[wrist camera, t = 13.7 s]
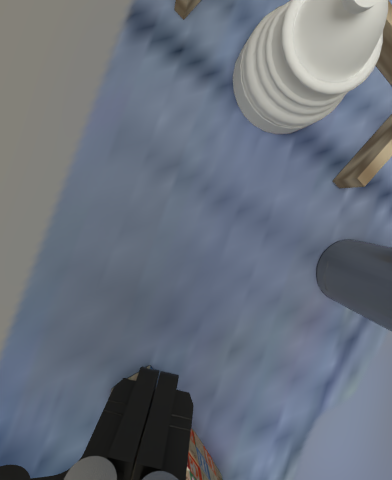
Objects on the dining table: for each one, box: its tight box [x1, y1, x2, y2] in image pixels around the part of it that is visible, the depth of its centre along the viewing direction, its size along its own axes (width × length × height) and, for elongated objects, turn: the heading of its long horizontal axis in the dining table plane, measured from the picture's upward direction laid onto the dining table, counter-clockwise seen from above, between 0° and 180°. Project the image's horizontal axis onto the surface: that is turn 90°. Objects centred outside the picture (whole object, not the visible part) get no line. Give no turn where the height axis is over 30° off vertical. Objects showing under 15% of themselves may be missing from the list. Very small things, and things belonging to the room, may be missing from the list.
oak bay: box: [174, 0, 392, 188], centre depth 36 cm, size 16×31×5 cm, turn 48°
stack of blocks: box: [111, 366, 223, 480], centre depth 37 cm, size 21×6×12 cm, turn 29°
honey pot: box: [233, 0, 388, 134], centre depth 30 cm, size 13×13×18 cm
